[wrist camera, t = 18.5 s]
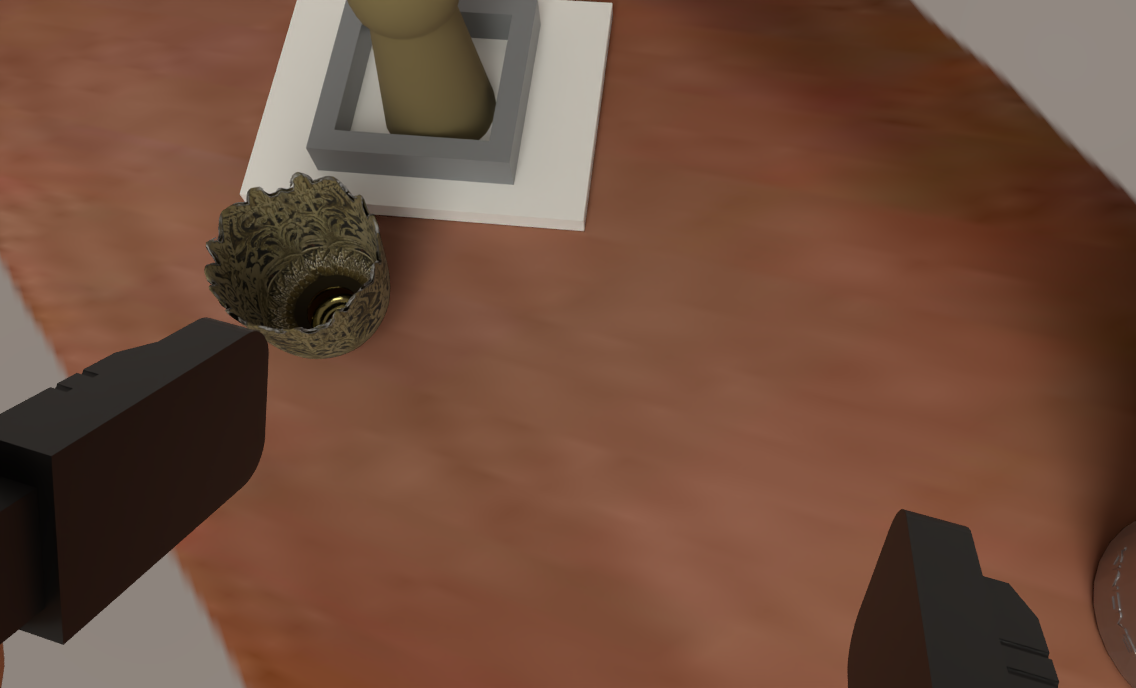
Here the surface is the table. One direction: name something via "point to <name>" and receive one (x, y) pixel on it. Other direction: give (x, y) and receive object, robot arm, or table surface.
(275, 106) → the socket board
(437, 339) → the table surface
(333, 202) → the cup
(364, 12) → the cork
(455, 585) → the table surface
